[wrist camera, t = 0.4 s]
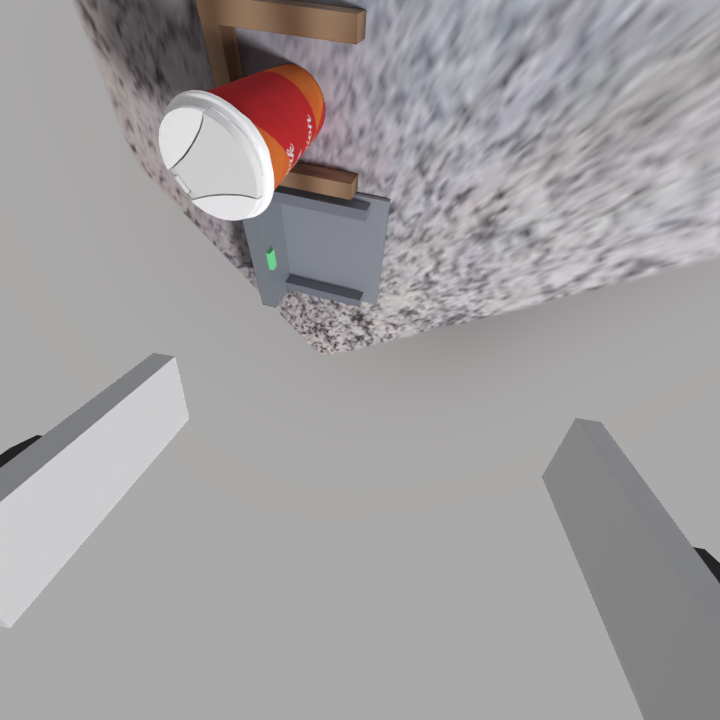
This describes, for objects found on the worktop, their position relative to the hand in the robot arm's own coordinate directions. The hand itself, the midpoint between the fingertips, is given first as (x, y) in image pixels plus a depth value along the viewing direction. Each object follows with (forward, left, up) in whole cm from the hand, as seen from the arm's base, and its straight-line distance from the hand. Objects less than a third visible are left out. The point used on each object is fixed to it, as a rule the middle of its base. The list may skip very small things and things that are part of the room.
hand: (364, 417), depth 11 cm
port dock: (+7, -19, -30) cm, 36 cm away
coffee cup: (-7, -14, -30) cm, 34 cm away
